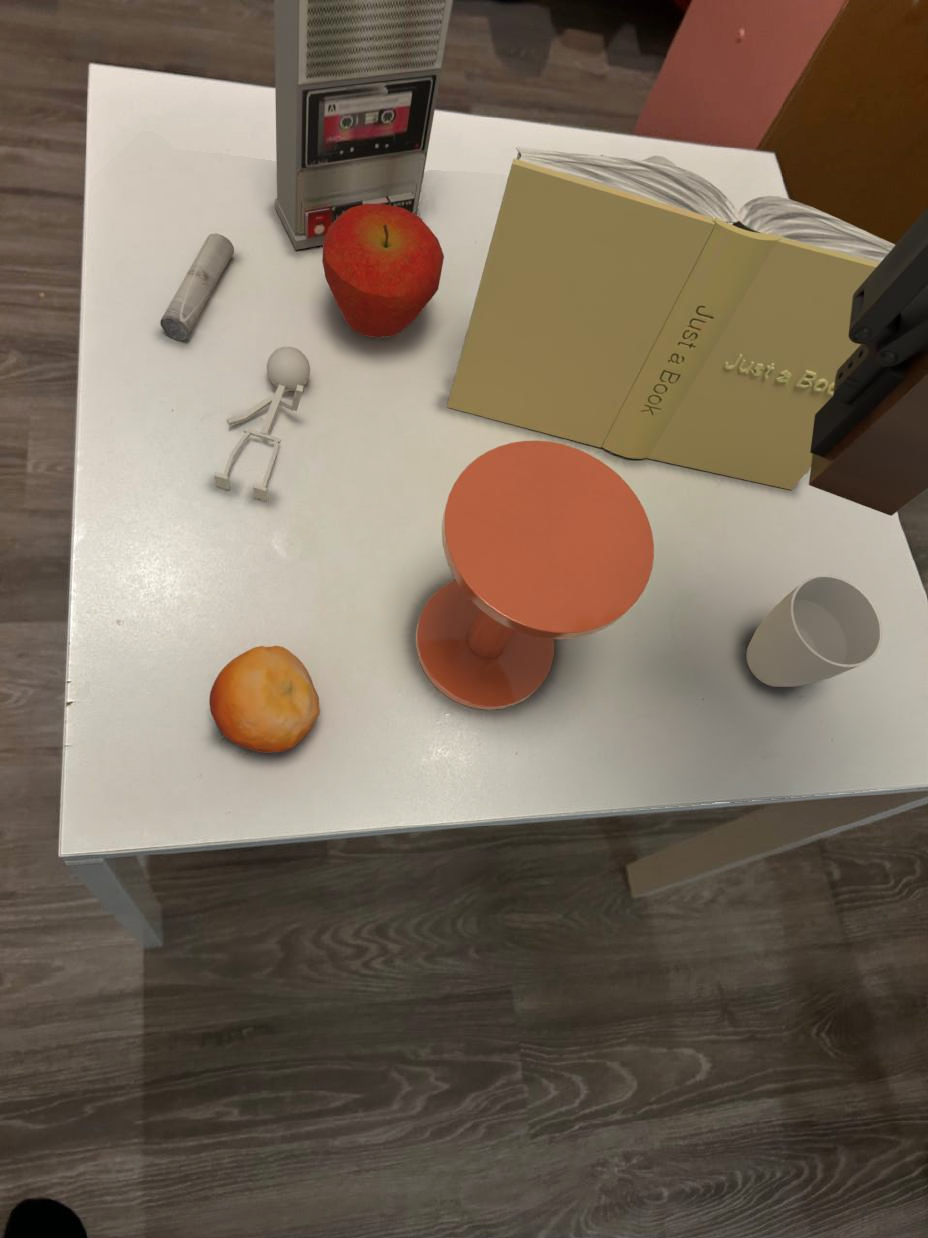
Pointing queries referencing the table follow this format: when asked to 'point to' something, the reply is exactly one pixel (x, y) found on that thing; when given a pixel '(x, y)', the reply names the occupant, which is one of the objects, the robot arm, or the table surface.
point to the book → (661, 315)
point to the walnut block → (883, 449)
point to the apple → (381, 267)
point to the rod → (197, 286)
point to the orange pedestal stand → (529, 569)
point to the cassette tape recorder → (353, 106)
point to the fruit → (264, 700)
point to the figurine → (271, 408)
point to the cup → (815, 634)
